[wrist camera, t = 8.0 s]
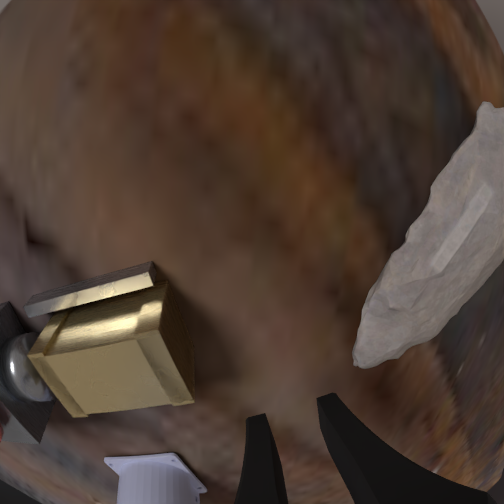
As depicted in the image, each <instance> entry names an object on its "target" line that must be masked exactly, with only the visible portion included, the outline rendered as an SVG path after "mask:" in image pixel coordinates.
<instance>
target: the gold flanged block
mask: <svg viewBox="0 0 504 504" xmlns="http://www.w3.org/2000/svg"><path fill="white" fill-rule="evenodd" d="M27 356H28V358H29V359H30V361H31V362H32V364H33V365H34V367H35V368H36V369H37V371H38V372H39V374H40V375H41V377H42V378H43V379H44V381H45V382H46V384H47V385H48V386H49V388H50V389H51V390H52V392H53V393H54V394H55V396H56V397H57V398H58V399H59V401H60V402H61V403H62V405H63V406H64V407H65V408H66V409H67V411H68V412H69V413H70V414H71V415H72V417H73V418H74V417H88V416H89V414H92V413H104V412H114V411H123V410H131V409H139V408H146V407H153V406H159V405H166V404H173V406H178V405H184V404H189V403H195V391H194V345H193V342H192V340H191V338H190V335H189V333H188V330H187V328H186V326H185V323H184V321H183V318H182V316H181V313H180V311H179V308H178V306H177V303H176V300H175V298H174V295H173V293H172V290H171V287H170V285H169V282H168V280H164V281H161V282H157V283H154V285H153V286H150V287H148V288H147V289H146V290H142V291H138V292H134V293H130V294H127V295H123V296H119V297H115V298H111V299H107V300H103V301H99V302H95V303H92V304H88V305H84V306H80V307H76V308H73V307H69V308H65V309H61V310H58V311H55V313H54V314H53V316H52V317H51V319H50V320H49V322H48V323H47V325H46V326H45V328H44V329H43V331H42V332H41V334H40V335H39V337H38V339H37V340H36V342H35V343H34V345H33V346H32V348H31V350H30V351H29V353H28V355H27Z"/></svg>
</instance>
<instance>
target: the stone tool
mask: <svg viewBox="0 0 504 504" xmlns="http://www.w3.org/2000/svg"><path fill="white" fill-rule="evenodd" d="M503 259H504V108H494V106H493V105H492V104H491V103H490V102H482V104H481V105H480V107H479V109H478V111H477V114H476V120H475V124H474V127H473V130H472V132H471V134H470V135H469V136H468V137H467V138H466V139H465V140H464V141H463V142H462V144H461V145H460V146H459V148H458V149H457V150H456V151H455V152H454V153H453V155H452V157H451V159H450V161H449V163H448V164H447V165H446V167H445V168H444V169H443V170H442V171H441V172H440V173H439V175H438V176H437V178H436V179H435V181H434V183H433V184H432V186H431V194H430V197H429V200H428V203H427V205H426V206H425V208H424V210H423V212H422V214H421V215H420V216H419V217H418V218H417V219H416V220H415V221H414V222H413V223H412V225H411V226H410V227H409V229H408V231H407V233H406V238H405V242H404V243H403V245H402V246H401V247H400V248H399V249H397V250H396V251H394V252H393V253H392V254H391V257H390V259H389V260H388V261H387V263H386V265H385V267H384V269H383V270H382V272H381V274H380V276H379V278H378V279H377V281H376V283H375V284H374V285H373V286H372V287H371V289H370V290H369V293H368V296H367V298H366V301H365V304H364V306H363V309H362V318H361V323H360V326H359V329H358V333H357V339H356V342H355V345H354V348H353V352H352V355H353V359H354V364H353V365H354V366H355V367H356V366H359V367H360V368H363V369H367V368H371V367H374V366H377V365H379V364H380V363H382V362H384V361H386V360H388V359H398V358H399V357H400V356H401V355H402V354H403V353H404V352H405V351H406V350H407V349H408V348H410V347H411V346H413V345H416V344H420V343H424V342H427V341H429V340H430V339H432V338H433V337H435V336H436V335H438V333H439V332H440V331H441V329H442V328H443V327H444V326H445V325H446V323H447V322H448V321H449V319H450V318H451V317H453V316H454V315H456V314H457V313H458V311H459V310H460V308H461V306H462V305H463V304H464V303H465V302H467V301H468V300H469V299H470V298H471V297H472V296H473V294H474V293H475V292H476V291H477V290H478V289H479V288H480V287H481V286H482V285H483V284H484V283H485V281H486V280H487V279H488V278H489V277H490V275H491V274H492V273H493V272H494V270H495V269H496V268H497V267H498V266H499V265H500V264H501V262H502V261H503Z"/></svg>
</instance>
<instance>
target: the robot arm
mask: <svg viewBox="0 0 504 504" xmlns="http://www.w3.org/2000/svg"><path fill="white" fill-rule="evenodd" d="M317 406H318V413H319V422H320V429H321V431H322V434H323V437H324V440H325V442H326V445H327V448H328V451H329V453H330V455H331V457H332V459H333V461H334V463H335V465H336V467H337V469H338V470H339V472H340V474H341V476H342V478H343V480H344V482H345V484H346V486H347V488H348V490H349V492H350V494H351V496H352V498H353V500H354V503H355V504H497V503H496V501H495V500H494V499H493V498H492V497H491V496H490V495H489V494H488V493H487V492H484V491H481V490H477V489H473V488H470V487H467V486H464V485H461V484H458V483H456V482H453V481H450V480H448V479H446V478H443V477H441V476H439V475H437V474H435V473H433V472H431V471H429V470H427V469H425V468H423V467H421V466H419V465H418V464H416V463H414V462H412V461H411V460H409V459H408V458H406V457H405V456H403V455H402V454H400V453H399V452H397V451H396V450H394V449H393V448H392V447H390V446H389V445H388V444H386V443H385V442H384V441H383V440H381V439H380V438H379V437H378V436H376V435H375V434H374V433H373V432H372V431H371V430H370V429H369V428H367V427H366V426H365V425H364V424H363V423H362V422H361V421H360V420H359V419H358V418H357V417H356V416H355V415H354V414H353V413H352V412H351V411H350V410H349V409H348V408H347V407H346V405H345V404H344V403H343V402H342V401H341V400H340V398H339V397H338V396H337V394H336V393H330V394H327V395H324V396H321V397H318V398H317ZM104 462H105V463H106V464H107V465H108V466H109V467H110V468H112V469H113V470H114V471H115V472H116V473H117V474H118V475H119V485H118V495H117V504H200V497H199V493H205V492H207V488H206V487H205V486H204V485H203V484H202V483H201V482H200V481H199V480H198V478H197V477H196V476H195V475H194V474H193V473H192V472H191V471H190V469H189V468H188V467H187V466H186V465H185V464H184V463H183V461H182V460H181V459H180V458H179V457H178V455H177V454H175V453H164V454H154V455H141V456H125V457H105V458H104ZM234 504H288V499H287V494H286V488H285V482H284V476H283V470H282V465H281V461H280V458H279V454H278V451H277V447H276V444H275V440H274V437H273V435H272V432H271V429H270V426H269V423H268V420H267V417H266V414H265V413H264V414H260V415H256V416H252V417H248V418H247V419H246V444H245V454H244V461H243V467H242V473H241V478H240V483H239V487H238V491H237V495H236V499H235V503H234Z"/></svg>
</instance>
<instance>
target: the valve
mask: <svg viewBox="0 0 504 504" xmlns="http://www.w3.org/2000/svg"><path fill="white" fill-rule="evenodd" d="M156 275H157V273H156V270H155V268H154V265H153V262H152V261H151V262H147V263H144V264H140V265H137V266H133V267H130V268H126V269H122V270H119V271H115V272H112V273H108V274H105V275H101V276H98V277H94V278H91V279H87V280H84V281H81V282H77V283H74V284H70V285H67V286H63V287H60V288H57V289H53V290H50V291H46V292H43V293H40V294H36V295H33V296H32V297H31V298H30V299H29V301H28V302H27V303H26V304H25V305H24V306H23V308H24V310H25V312H26V313H27V315H28V317H29V318H30V317H34V316H38V315H42V314H46V313H50V312H54V311H58V310H61V309H65V308H69V307H73V306H77V305H81V304H85V303H89V302H93V301H97V300H100V299H104V298H108V297H112V296H116V295H120V294H124V293H127V292H131V291H135V290H139V289H143V288H147V287H150V286H153V285H154V281H155V278H156ZM39 335H40V333H38V332H31V333H26V332H25V330H24V329H23V327H22V325H21V323H20V322H19V320H18V318H17V316H16V314H15V312H14V310H13V309H12V307H11V305H10V303H9V301H8V302H5V303H2V304H0V442H1V440H2V441H10V442H20V443H32V444H40V442H41V439H42V436H43V433H44V431H45V428H46V425H47V422H48V420H49V417H50V414H51V412H52V409H53V406H54V404H55V401H56V399H57V397H56V396H55V394H54V393H53V392H52V390H51V389H50V388H49V386H48V385H47V384H46V382H45V381H44V379H43V378H42V377H41V375H40V374H39V372H38V371H37V369H36V368H35V367H34V365H33V364H32V362H31V361H30V359H29V358H28V356H27V355H28V353H29V351H30V350H31V348H32V346H33V345H34V343H35V342H36V340H37V339H38V337H39Z"/></svg>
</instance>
